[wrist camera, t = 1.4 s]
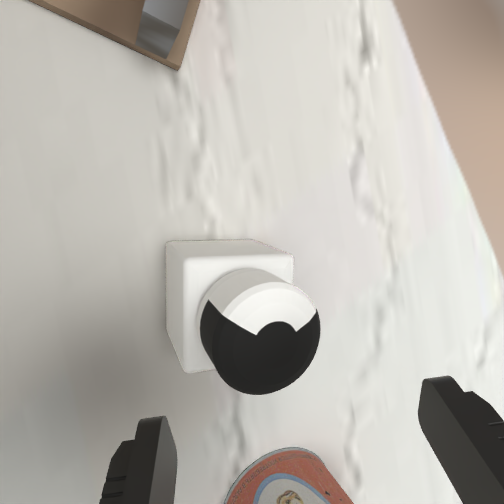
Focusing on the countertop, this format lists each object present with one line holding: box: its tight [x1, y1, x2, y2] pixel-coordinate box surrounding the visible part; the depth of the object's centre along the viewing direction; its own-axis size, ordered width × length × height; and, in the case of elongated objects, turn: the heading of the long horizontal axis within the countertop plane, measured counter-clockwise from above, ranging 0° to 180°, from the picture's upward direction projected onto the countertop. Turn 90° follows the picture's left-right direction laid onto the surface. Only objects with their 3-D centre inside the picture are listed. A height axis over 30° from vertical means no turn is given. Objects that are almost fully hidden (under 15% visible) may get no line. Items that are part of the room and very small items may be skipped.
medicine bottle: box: [166, 240, 320, 395], centre depth 23 cm, size 7×7×12 cm
